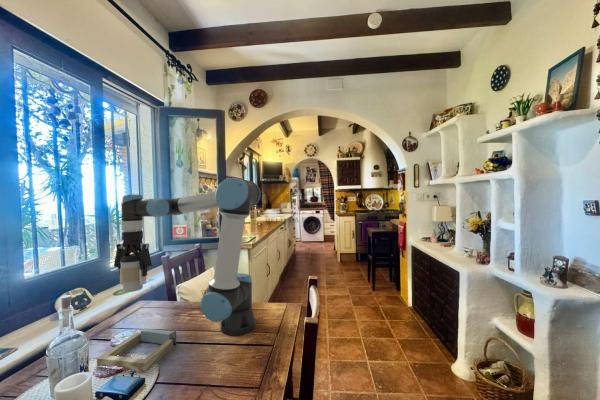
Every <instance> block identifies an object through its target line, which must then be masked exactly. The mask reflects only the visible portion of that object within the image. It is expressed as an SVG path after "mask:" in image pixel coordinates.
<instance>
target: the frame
mask: <svg viewBox="0 0 600 400" xmlns="http://www.w3.org/2000/svg"><path fill="white" fill-rule="evenodd" d="M140 342H142V341H141V332H138V331H137V332H135V333H134V334H132V335H131V336H130V337H128V338H126V339H125V340H123V341H121V342H120V343H119V344H117V345H116V346H114V347H112V348H110V349H109V350H108V351H106V352H105V353H103V354H101V355H100V356H98V357H97V358H96V367H97V366H117V367H123V368H124V369H125V370H124V371H126V370H135V371H138V373H146V372H148V371H149V370H150V369H151V368H152V367H153V366H154V365H155V364H156V363H158V362H159V361H160V360H161V359H162V358H163V357H164V356H165V355H167V354H168V353H169V352H170V351H171V350H172V349H173V348H174V346H173V340H171V339H168V340H167V341H166V342H164V343H163V344H160V345H159V346H158V347H157V348H155V349H154V350H153V351H152V352H151V353H150V354H149V355H147V356H146V357H145V358H138V357H128V356H121V355H122V353H123V354H125V353H126V352H127V351H129V350H130V349H131V348H133V347H134V346H136V345H137V344H139V343H140ZM120 354H121V355H120ZM117 355H120V356H117ZM148 369H149V370H148ZM135 371H134V372H135Z"/></svg>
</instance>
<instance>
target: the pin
mask: <svg viewBox="0 0 600 400" xmlns="http://www.w3.org/2000/svg"><path fill="white" fill-rule="evenodd" d="M171 332H172V340H173V347H174V346H176V345H177V330H172V331H171Z"/></svg>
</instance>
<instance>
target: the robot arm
mask: <svg viewBox="0 0 600 400" xmlns="http://www.w3.org/2000/svg"><path fill="white" fill-rule="evenodd" d="M261 193H262V192H261V189H260V187H259V185H258V184H257V183H256V182H254V181H251V180H249V179H243V178H239V177H229V178H226V179H223V180H222V181H221V182H219V184H218V185H217V187H216V189H215V191H213V192H211V191H210V192H207V193H205V192H204V193H199V194H195V195H188V196H181V197H177V198H158V197H157V198H155V197H154V198H143V194H132V193H131V194H123V195H122V196H121V203H120V206H121V231H122V232H121V240H122V241H123V242H122V243H117V244H116V245H115V246H116V247H115V248H116V253H115V258H114V264H113V266H114V268H118V277H119V285H123V282H122V277H121V263H120V259H121V258H123V256H128V255H130V254H134V255H136V256H137V257H138V258H139V260H140V261H139V264H140V267H141V269H139V285H142V284H143V285H145V284H147V275H148V268H150V267H152V259H151V254H150V249H149V248H150V244H149V243H143V239H144V231H143V229H144V221H143V220H144V218H145V217H146V218H147V217H151V218H152V217H154V218H158V217H159V218H160V217H165V216H179V215H183V214H189V213H195V212H202V211H210V210H215V209H218V213H219V214H220V215H221V223H220V230H219V231H220V232H219V237H218V238H219V239H218V246H217V253H216V260H215V266H214V273H213V274H214V275H213V277H212V278H211V279H210V280H209V281H208V288H207V292H206V293H205V294H203V296H202V298H201V300H200V311H201V312H202V314H203V315H204V317H205V318H206V319H207V320H209V321H211V322H214V323H219V322H220V331H221V333H222V334H225V335H227V336H241V335H246V334H248V333H251V332H252V331H253V330H254V329H255V328H256V325H257V323H256V317H255V313H254V310H253V306H252V305H253V304H252V303H253V301H252V298H253V297H252V296H253V295H252V293H253V289H252V288H253V281H252V280H253V279H252V276H251V275H250V274H248V273H238V271H239V263H240V257H241V250H242V244H243V237H244V235H243V234H244V229H245V220H246V219H247V217H249V216H250V214H251V208H252V207H255V206H256V205H257V204H258V203H259V201H260V200H261ZM143 217H144V218H143Z"/></svg>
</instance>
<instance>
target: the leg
mask: <svg viewBox="0 0 600 400" xmlns="http://www.w3.org/2000/svg"><path fill="white" fill-rule="evenodd" d="M140 333H141V341H140V342H144V343H145V342H146V343H153V344H159V345H162V344H163V343H164V342H166V341H167V340H168V339H171V340H172V331H168V330H160V329H151V328H143V329H142V330H140Z"/></svg>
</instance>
